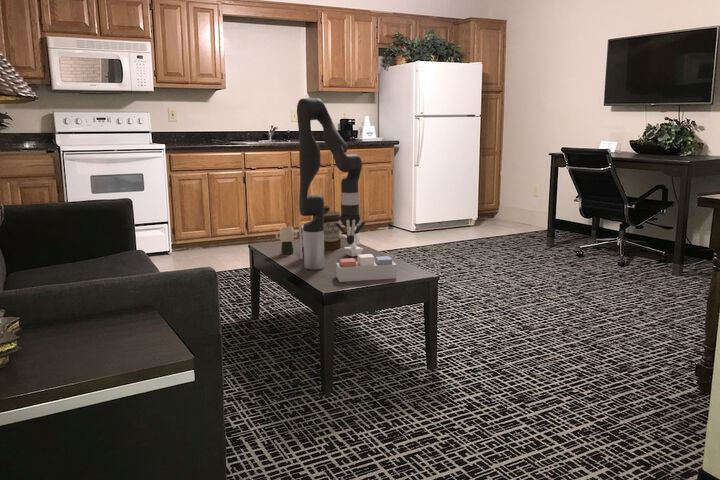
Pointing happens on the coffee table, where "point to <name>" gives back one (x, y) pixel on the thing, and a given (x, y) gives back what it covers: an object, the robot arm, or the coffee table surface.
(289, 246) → the character mug
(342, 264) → the red key
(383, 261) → the blue key
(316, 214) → the robot arm
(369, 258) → the cream white block
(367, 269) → the control box
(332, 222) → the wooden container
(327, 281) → the coffee table surface
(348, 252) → the figurine
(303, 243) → the candy bar box
